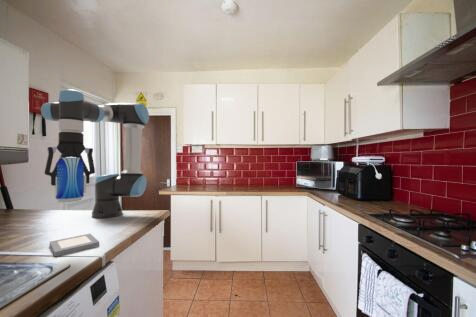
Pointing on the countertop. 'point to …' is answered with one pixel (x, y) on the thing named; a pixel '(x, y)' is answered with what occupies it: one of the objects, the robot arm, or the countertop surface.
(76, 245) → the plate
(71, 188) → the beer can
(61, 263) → the countertop surface
